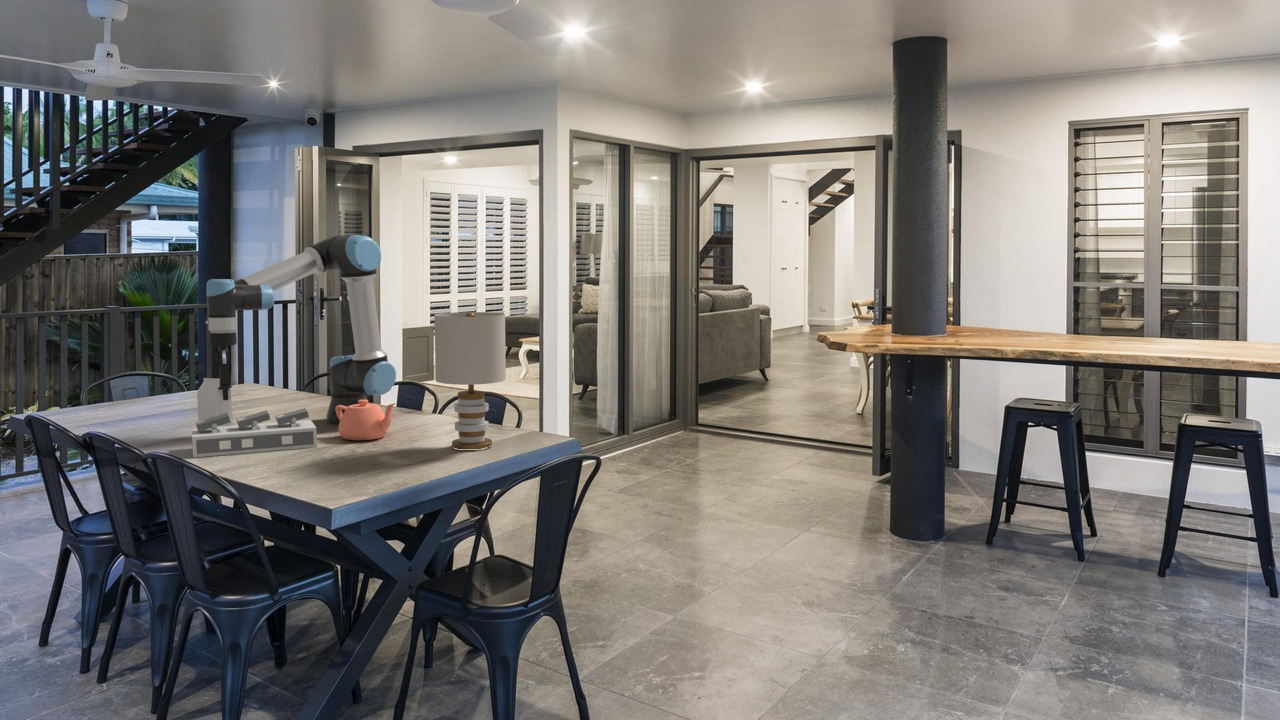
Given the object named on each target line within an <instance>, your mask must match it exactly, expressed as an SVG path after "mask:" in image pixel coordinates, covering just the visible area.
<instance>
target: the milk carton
mask: <svg viewBox="0 0 1280 720" xmlns="http://www.w3.org/2000/svg"><path fill="white" fill-rule="evenodd" d="M219 383H220V378H219V377H218V378H214V377H213V378H212V377H211V378H210V377H203V381H202V383H201V385H200V387H199V388H198V390H197V391H196V397H197V398H196V399H197V400H196V401H197V413H198V414H197V415H198V417H197V418H198V421H201V420H205V419H208V418H212V417H215V416H218V415H222V414H225V413H228V415H229V418H230V423H227V424H223V425H220V426H217V427H221V426H234V425H233V424H234V422H233V406H232V405H233V404H232V388H230V399H231V411H221V402H220V390H218V387H220V384H219Z"/></svg>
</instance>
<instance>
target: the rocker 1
mask: <svg viewBox="0 0 1280 720" xmlns="http://www.w3.org/2000/svg"><path fill="white" fill-rule="evenodd" d="M227 423H230V418H229V415H228V413H225V414H222V415H218V416H215V417H212V418H208V419H205V420H201V421H199V420H198V421H196V422H195V427H196V428H197V429H198V432H200V431H203V430H207V429H210V428H213V429H216V428H217V426H220V425H223V424H227Z"/></svg>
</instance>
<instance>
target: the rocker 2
mask: <svg viewBox="0 0 1280 720" xmlns="http://www.w3.org/2000/svg"><path fill="white" fill-rule="evenodd" d="M274 417H275V420H276V422H277V423H278V425H283V424H286V423H290V422H292V423H296V421H302V420H305V419H307V418H310V415H309V412H308V409H306V408H300V409H298V410H297V409H296V410H293V411H288V412H285V413H282V414H278V415H275V416H274Z"/></svg>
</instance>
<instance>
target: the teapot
mask: <svg viewBox="0 0 1280 720" xmlns="http://www.w3.org/2000/svg"><path fill="white" fill-rule="evenodd" d="M358 403H359V404H355V405H350V406H348V407H346V406H343V405H338V406H336V408H335V410H336V414H337V417H338V419H339V420H340V424H338V433H339V435H340V436H341V437H342V439H345V440H348V441H349V440H350V441H363V440H369V441H373V440H376V439H377V440H378V439H381V438H384V437H385V436H386V434H387V433H388V432H389V430H390V426H391V425H392V424H391V423H392V419H393V418H392V415H393V414H392V413H393V412H392V411H393V408H394V406H395V405H396V404H397V402H393V403H390V404H387V406H386V408H385V412H384V411H383V409H382V408H381V406H380V405H378V404H377V403H369V400H368V399H366V400H358ZM367 403H368V404H367ZM342 409H343V410H345V412H344V414H342Z"/></svg>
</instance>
